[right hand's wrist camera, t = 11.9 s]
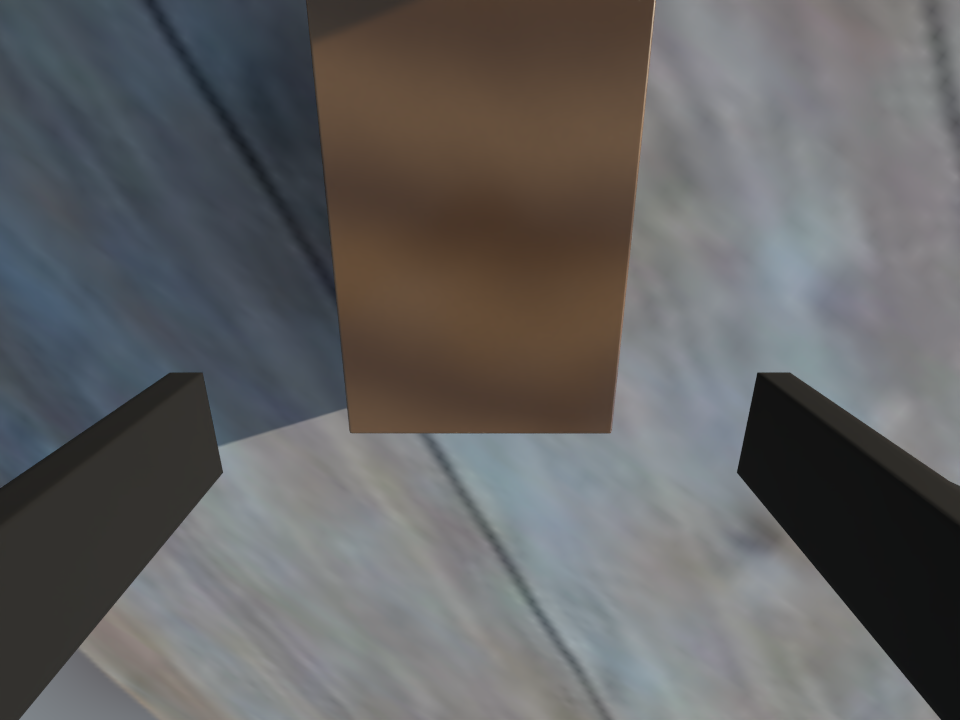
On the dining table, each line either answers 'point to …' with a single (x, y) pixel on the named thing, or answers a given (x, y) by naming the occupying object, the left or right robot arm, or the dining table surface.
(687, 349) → the dining table surface
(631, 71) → the cabinet
